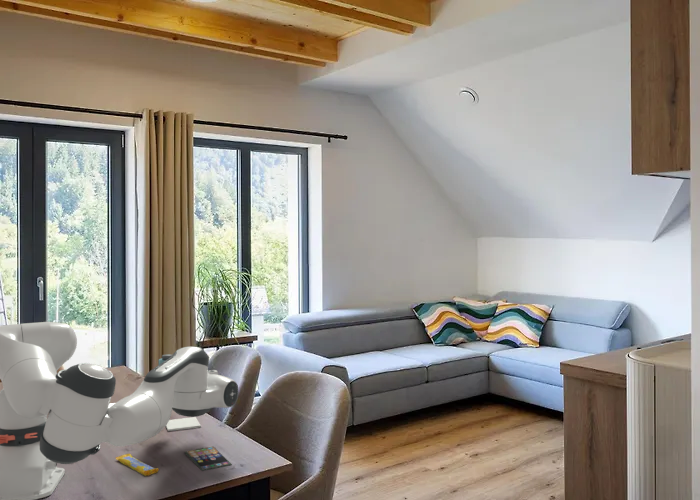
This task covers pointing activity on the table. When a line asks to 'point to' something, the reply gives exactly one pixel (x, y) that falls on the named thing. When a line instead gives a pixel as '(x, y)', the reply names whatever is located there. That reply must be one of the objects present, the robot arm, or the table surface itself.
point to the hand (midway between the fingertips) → (166, 379)
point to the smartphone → (207, 458)
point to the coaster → (183, 424)
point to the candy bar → (136, 464)
